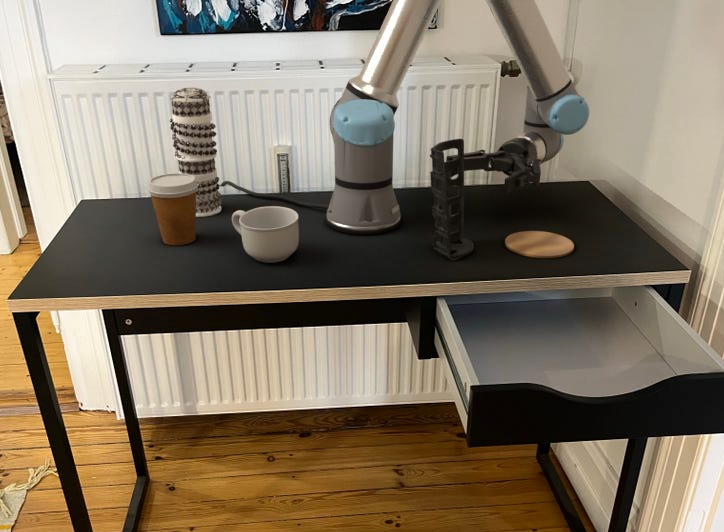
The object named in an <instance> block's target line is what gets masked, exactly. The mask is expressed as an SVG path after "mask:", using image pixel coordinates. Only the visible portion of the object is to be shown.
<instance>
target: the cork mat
mask: <svg viewBox="0 0 724 532" xmlns="http://www.w3.org/2000/svg"><path fill="white" fill-rule="evenodd" d="M504 245H505V247H506V248H507V249H508V250H509V251H511V252H513V253H515V254H517V255H520V256H524V257H528V258H537V259H555V258H562V257H565V256H568V255H570V254H572V252H573V251H574V249H575V244H574V242H573V241H572V240H571V239H569V238H567V237H566V236H563V235H561V234H558V233H554V232H548V231H540V230H524V231H518V232H514V233H511V234H510V235H508V236H507V237H506V238H505V239H504Z"/></svg>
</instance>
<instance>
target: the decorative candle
mask: <svg viewBox="0 0 724 532" xmlns="http://www.w3.org/2000/svg"><path fill="white" fill-rule="evenodd" d="M211 98H212V97H211V96H210V95H209V94H207V92H206V91H205V90H204V89H202V88H200V87H183V88H179V89H177V90H175V91H174V93H173V96H171V97H170V98H169V100H170V102H171V108H172V109H171V110H172V114H171V116H172V118H169V123H171V124H170V127H169V129H170V130H171V131H172V133H173V134H171V136H172V137H171V139H172V141H173V144H172V147H173V148H174V149H175V152H174V156H175V159H176V160H178V169H179V170H178V173H182V174H189V175H192V176H194V177H195V180H196V182H197V183H198V187H197V191H196V218H201V217H202V218H203V217H204V218H205V217H209V216H215V215H217V214H220V213H221V211H222V206H221V205H222V200H221V199H220V198H221V195H222V193H221V192H220V191H219V190H220V188H221V186H220V185H221V184H219V181H220V177H219V176H218V171H217V170H218V169H217V167H216V160H215V158H216V157H217V155H218V154H217V153H218V150H217V149H216V148H214V147H216V146H217V141H215V140H213V138H215V137H216V136H217V132H216V131H214V129H216V124H215V123H213V122H212V120H213V116H212V111H211V103H210V99H211Z"/></svg>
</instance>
